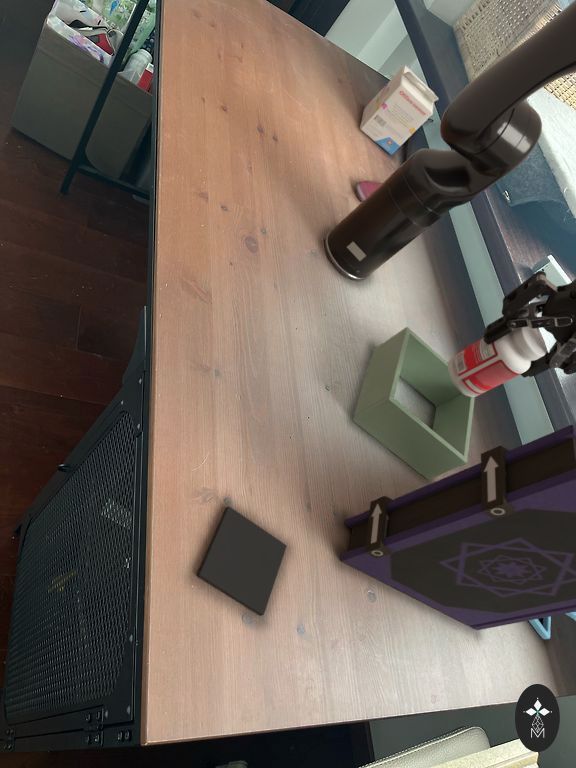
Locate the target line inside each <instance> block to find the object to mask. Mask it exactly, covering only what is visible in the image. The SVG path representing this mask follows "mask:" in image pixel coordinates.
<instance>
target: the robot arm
mask: <svg viewBox="0 0 576 768" xmlns="http://www.w3.org/2000/svg"><path fill="white" fill-rule="evenodd" d="M575 73H576V0H573V1H572V2H571V3H569V4H568V5H567V6H566V7H565V8H564V9H562V11H560V12H559V13H558V14H557V15H556V16H554V17H553V18H552V19H551V20H550V21H549V22H547V23H546V24H545V25H544V26H542V27H541V28H540V29H538V31H536V32H535V33H534V34H532V35H531V36H530V37H528V38H527V39H526V40H524V41H523V42H522V43H521V44H519V45H518V46H516V47H515V48H514V49H512V50H510V51H509V52H508V53H507V54H505V55H504V56H503V57H502V58H500V59H498V61H497V60H496V62H495V63H493V64H492V65H490V66H489V67H488V68H487V69H485V70H484V71H483V72H481V73H480V74H479V75H476V77H475V78H473V80H471V81H470V82H469V83H468V84H467V85H466V86H464V87H463V89H461V90H460V91H459V92H458V93H457V95H455V97H453V99H452V100H451V101H450V103H449V104H448V106H447V107H446V109H445V111H444V113H443V114H442V117H441V119H440V124H439V134H440V137H441V139H442V141H443V142H444V143H445V144H446V145H447V146H448V147H449V148H451V149H449V150H445V149H443V150H442V149H436V148H427V147H426V148H421V149H418V150H417V151H415V152H414V153H413V154H412V155H411V156H410V157H409V155H410V148H411V147H410V146H411V142H412V138H413V135H414V133H413V134H412V135H411V136H410V137H409V138H408V139H407V140H406V145H405V152H404V153H405V154H404V162H403V163H402V164H401V165H399V167H398V168H397V169H396V170H394V171H393V173H391V174H390V176H388V177H387V178H386V179H385V180H384V181H383V182H381V183H382V184H381V185H380V186H379V187H378V188H377V189H376V190H375V191H373V192H372V193H371V194H370V195H369V196H368V197H367V198H366V199H365V200H364V201H363V202H362V201H361V203H360V204H358V205H357V206H356V207H355V208H354V209H353V210H351V212H350V213H349V214H348V215H346V217H344V218H342V220H341V221H340V222H339V223H338V224H337V225H336V226H335V227H333V228H332V229H330V230H329V231H328V232H327V233H326V234H325V237H324V240H323V245H324V250H325V253H326V255H327V257H328V259H329V261H330V263H331V264H332V265H333V266H334V268H335V269H336V270H337V271H338V272H339V273H341V274H342V275H343V276H344V277H345V278H347V279H350V280H351V281H355V282H362V281H364V280H366V279H368V278H369V277H370V276H371V275H372V274H373V273H374V272H375V271H377V270H378V269H379V268H380V267H381V266H383V265H384V264H385V263H386V262H388V261H389V260H390V259H392V258H393V257H394V256H395V255H396V254H398V253H399V252H400V251H401V250H403V249H405V247H407V246H408V245H409V244H411V242H413V241H414V240H415V239H417V237H419V236H420V235H421V234H422V233H424V232H425V231H426V230H428V229H429V228H430V227H432V226H433V224H435V223H436V222H437V221H439V220H440V219H441V218H442V217H444V216H445V215H446V214H447V213H449V212H450V211H451V210H452V209H454V208H457V207H459V206H460V207H461V206H462V205H466V204H468V203H469V202H471V201H472V200H474V199H475V198H477V197H478V196H479V195H481V194H483V193H485V191H486V190H488V189H489V188H491V187H492V186H494V185H495V184H496V183H498V182H499V181H501V180H502V179H504V178H505V177H506V176H508V175H509V174H510V173H511V172H512V171H514V170H515V169H517V168H518V167H519V166H520V165H521V164H522V163H523V162H524V161H525V160H526V159H527V158H528V157H529V156H530V154H531V153H532V152H533V151H534V149H535V147H536V146H537V144H538V142H539V140H540V137H541V134H542V129H543V122H542V119H541V115H540V114H539V112H537V110H535V108H534V107H533V106H532V105H531V104H529V103H528V102H527V101H525V100H526V99H528V98H529V97H530V96H532V95H534V94H535V93H537V92H538V91H539V90H541V89H543V88H544V87H546V86H547V85H549V84H551V83H553V82H555V81H557V80H559V79H561V78H563V77H565V76H569V75H571V74H575ZM428 119H429V118H428ZM428 119H427V120H426V121H425V122H427V121H429V120H428ZM544 296H548V297H547V299H546V300H540V301H533V300H534V299H536V300H539V299H541V298H543V297H544ZM532 301H533V302H532ZM540 313H541V315H540V316H538V314H540ZM501 315H502V316H501V317H499V318H497V319H495V320H494V321H492V322H491V323H489V324H487V326H485V329H484V333H483V338H484V339H483V341H484V342H485V343H486V344H488V345H489V344H491V343H493V342H495V341H496V340H498V339H500V338H502V337H503V336H505V335H507V334H509V333H511V332H512V329H515V328H523V327H530V328H531V329H535V328H536V329H542V328H543V329H544V330H545V331H546V332H548V333H550V334H552V336H553V339H554V340H555V342H554V343H553V345H552V346H551V347H550V349H549V351H547V350H546V354H545V355H544V356H542V357H541V358H539V359H537V360H534V361H531V365H530V367H529V369H528V370H527V371H526V372H524V373H522V374H520V375H519V376H521V377H522V378H527V377H529V378H532V377H535V376H537V375H540V374H542V373H544V372H546V371H548V370H550V369H560V370H561V371H563V373H564V374H565V375H567V376H569V375H573V374H576V278H575V279H574V280H572V281H571V282H569V283H567V284H562V285H558V286H556V285H555V284H554V283H553V282H552V281H550V280H549V279H547V273H546V272H545V271H543V270H538V271H536V272H535V273H533V274H532V275H531V276H529V278H527V279H526V280H524V281H523V282H522V283H521V284H519V285H518V286H517V287H515V288H514V289H513V290H512V291H510V292H509V293H508V294H507V295H505V296H504V297H503V299H502V308H501Z"/></svg>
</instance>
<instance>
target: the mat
mask: <svg viewBox="0 0 576 768" xmlns="http://www.w3.org/2000/svg"><path fill="white" fill-rule="evenodd" d="M216 527H217V528H216V530H215V532H214V535H213V537H212V539H211V542H210V544H209V546H208V548H207V551H206V553H205V555H204V558H203V560H202V563H201V565H200V567H199V570H198V572H197V574H196V576H197V578H199V579H200V580H202V581H204V582H206V583H207V584H209V585H211V586H212V587H213V588H215V589H216V590H218V591H220V592H222V593H223V594H225V595H226V596H228V597H230V598H231V599H232V600H234V601H236V602H237V603H238V604H240V605H242V606H244V607H245V608H247V609H249V610H250V611H251V612H253V613H254V614H257V615H258V616H260V617H263V616H264V615H265V612H266V609H267V607H268V603H269V600H270V598H271V595H272V591H273V589H274V585H275V582H276V579H277V576H278V573H279V571H280V568H281V564H282V561H283V558H284V555H285V553H286V549H287V545H286V544H285V543H284V542H282V541H281V540H279V539H278V538H276V537H275V536H273V535H272V534H270V533H269V532H268V531H266V530H264V529H263V528H262V527H260V526H259V525H257V524H256V523H255V522H253V521H252V520H250V519H248V518H247V517H246V516H245V515H243V514H241V513H239V512H238V511H237V510H235V509H234V508H233V507H231V506H226V507H225V509H224V511H223V514H222V516H221V518H220V521H219V523H218V525H217V526H216Z"/></svg>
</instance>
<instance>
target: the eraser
mask: <svg viewBox="0 0 576 768" xmlns="http://www.w3.org/2000/svg"><path fill="white" fill-rule="evenodd" d="M382 183H383V182H376V181H369V180H362V181H359V182H358V183H357V184H356V187H355V190H354V191H355V194H356V197H357V198H358V199H359V200H360V201H361V203H362V202H363V201H364V200H365V199H366V198H367V197H368V196H369V195H370V194H371V193H372V192H373V191H375V190H376V189H377V188H378V187H379V186H380V185H381V184H382Z"/></svg>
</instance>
